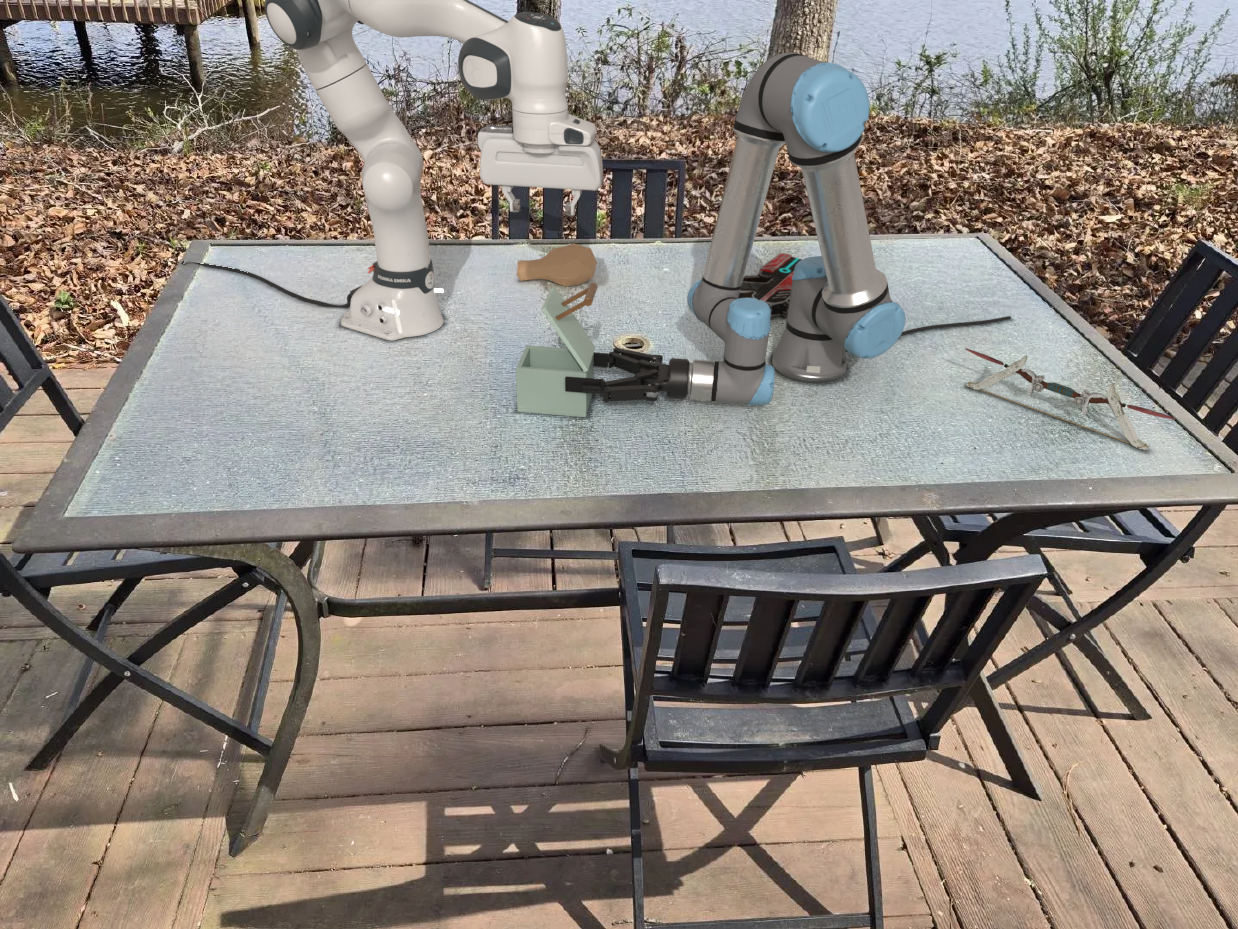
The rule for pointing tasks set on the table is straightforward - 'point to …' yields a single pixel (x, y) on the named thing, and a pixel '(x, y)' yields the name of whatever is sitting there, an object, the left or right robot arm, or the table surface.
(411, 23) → the left robot arm
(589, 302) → the lid
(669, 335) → the table surface
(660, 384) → the right robot arm
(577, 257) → the squash
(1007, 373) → the bow
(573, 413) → the chest
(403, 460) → the table surface
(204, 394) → the table surface
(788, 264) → the gun
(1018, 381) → the table surface
